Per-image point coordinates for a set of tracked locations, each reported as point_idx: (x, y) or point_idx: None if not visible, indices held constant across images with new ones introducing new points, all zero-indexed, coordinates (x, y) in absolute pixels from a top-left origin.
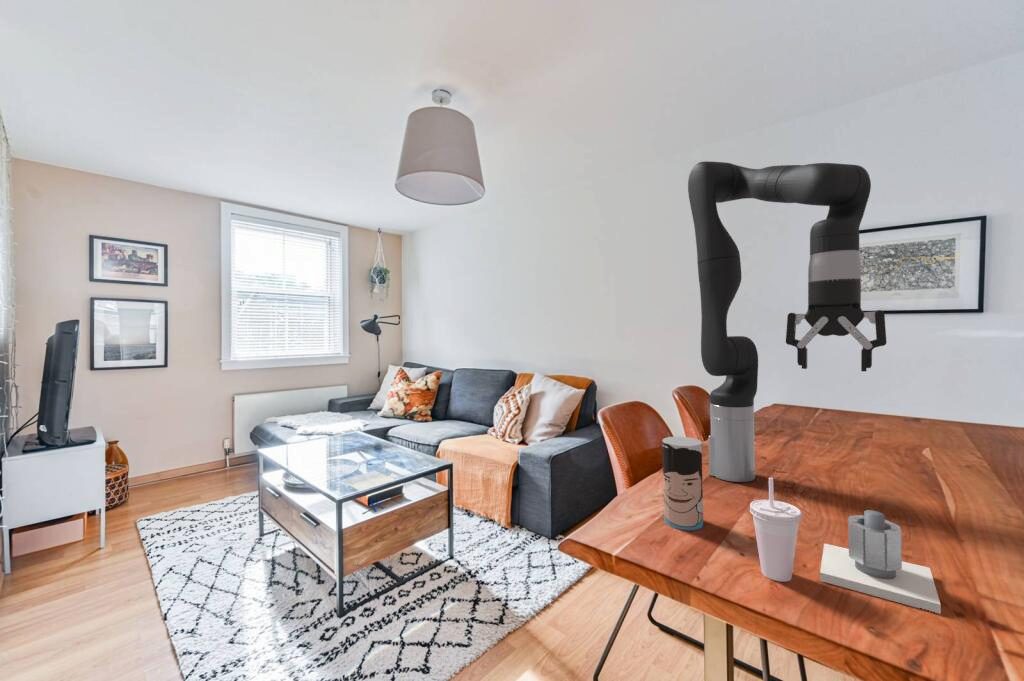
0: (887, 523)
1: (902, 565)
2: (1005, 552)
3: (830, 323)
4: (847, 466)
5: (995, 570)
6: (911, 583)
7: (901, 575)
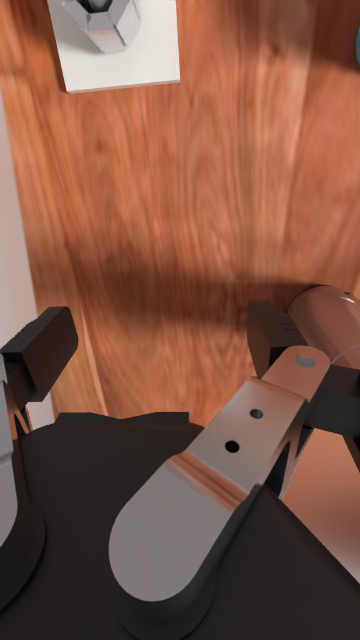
0: (78, 5)
1: (90, 70)
2: (31, 237)
3: (113, 511)
4: None
5: (28, 173)
6: None
7: None
